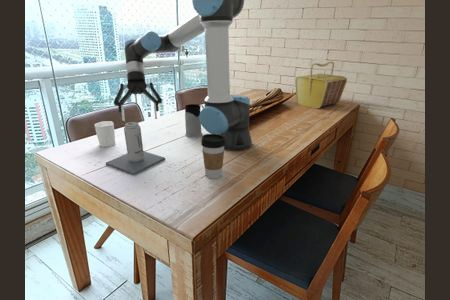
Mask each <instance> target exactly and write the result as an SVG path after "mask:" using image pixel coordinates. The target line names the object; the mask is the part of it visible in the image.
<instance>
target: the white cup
mask: <svg viewBox="0 0 450 300" xmlns="http://www.w3.org/2000/svg"><path fill="white" fill-rule="evenodd" d="M114 125H115V124H114V122H113V121H111V120H110V121H109V120H107V121H106V120H105V121H104V120H103V121H100V122H96V123H94V129H95V133H96V137H97V141H98V144H99V146H100V147H102V148H106V147H107V148H108V147H112V146H114V145H116V138H115V137H116V136H115V135H116V133H115V126H114Z"/></svg>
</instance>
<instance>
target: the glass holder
mask: <svg viewBox="0 0 450 300" xmlns="http://www.w3.org/2000/svg"><path fill="white" fill-rule="evenodd" d="M201 107H202V109H203V108H205V106H204V105H202V104H201V105H200V104H197V103H190V104H185V106H184V119H185V120H184V121H185V134H184V135H185V137H186V138H191V139H194V138H195V139H197V138H200V137H202V136H203V133H202V125H201V122H200V112H201Z"/></svg>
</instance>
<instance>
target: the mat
mask: <svg viewBox="0 0 450 300" xmlns="http://www.w3.org/2000/svg"><path fill="white" fill-rule="evenodd" d="M143 153H144V158H143V160H142V161H140V162H131V161H130V160H129V159H128V154H127V153H125V154H123V155H120V156H118V157H116V158H114V159H111V160H109V161H107V162H105V165H106V166H108V167H111V168H114V169H116V170H118V171H121V172H124V173H126V174H129V175H131V176H136V175H138V174H140V173H142V172H144V171H146V170H148V169H150V168H152V167H154V166H156V165H158V164H159V163H162V162H164V161H165V160H166V158H165V157H163V156H161V155H158V154H154V153H151V152H148V151H145V150H143Z"/></svg>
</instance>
